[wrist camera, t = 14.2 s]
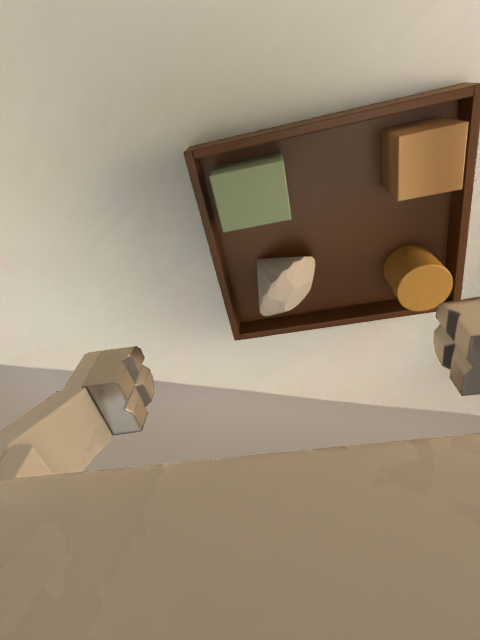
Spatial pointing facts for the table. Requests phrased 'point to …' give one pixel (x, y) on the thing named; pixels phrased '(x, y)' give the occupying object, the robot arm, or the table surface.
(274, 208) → the sage block
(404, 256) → the cylinder
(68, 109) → the table surface
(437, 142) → the beech cube
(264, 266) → the gemstone
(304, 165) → the tray
